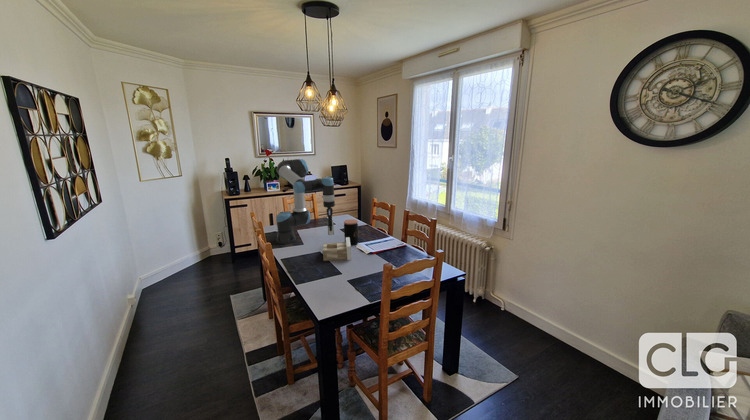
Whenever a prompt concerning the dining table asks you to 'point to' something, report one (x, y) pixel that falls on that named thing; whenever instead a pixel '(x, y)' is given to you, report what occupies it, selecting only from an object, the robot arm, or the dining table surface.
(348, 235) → the coffee jar
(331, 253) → the socket block
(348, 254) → the wall
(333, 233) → the dowel
